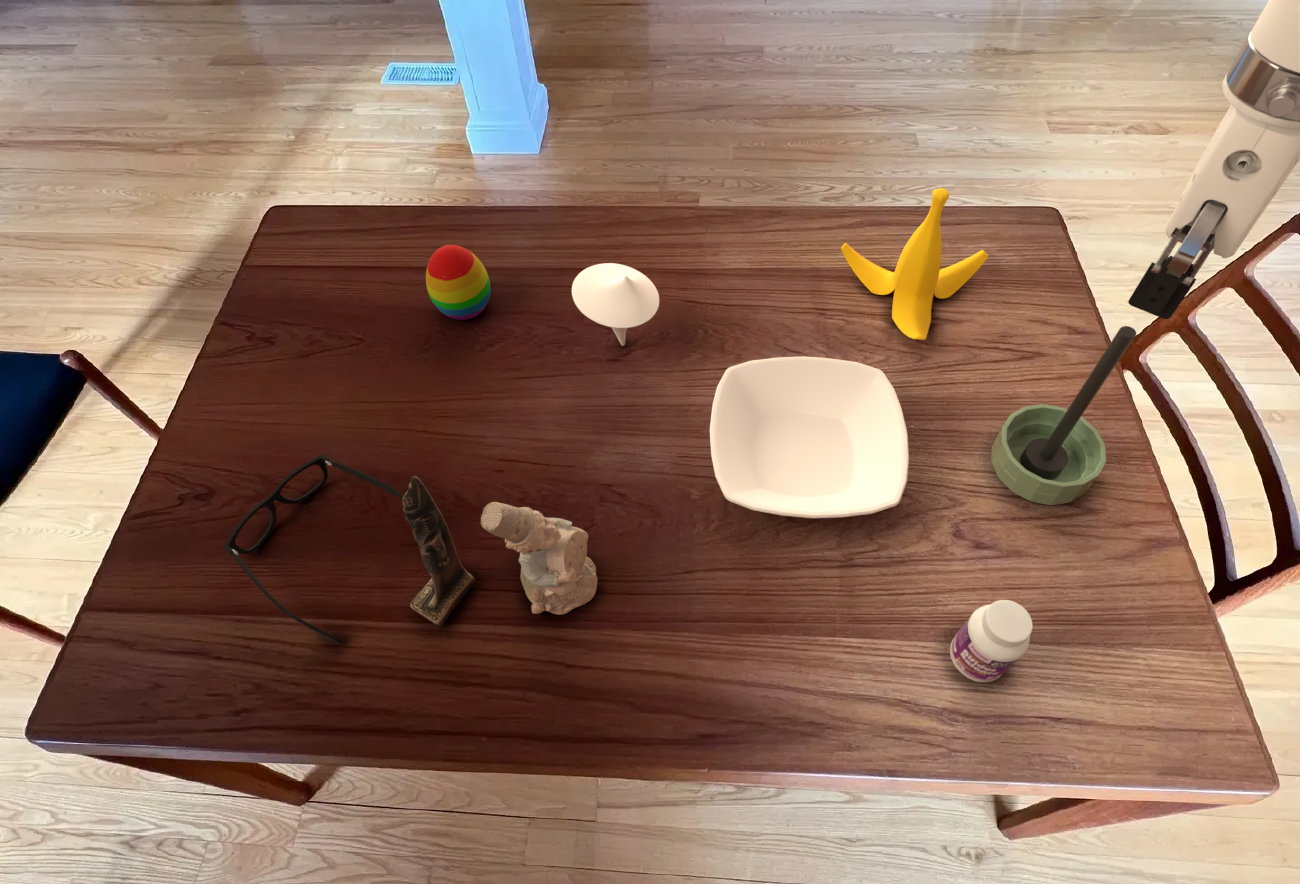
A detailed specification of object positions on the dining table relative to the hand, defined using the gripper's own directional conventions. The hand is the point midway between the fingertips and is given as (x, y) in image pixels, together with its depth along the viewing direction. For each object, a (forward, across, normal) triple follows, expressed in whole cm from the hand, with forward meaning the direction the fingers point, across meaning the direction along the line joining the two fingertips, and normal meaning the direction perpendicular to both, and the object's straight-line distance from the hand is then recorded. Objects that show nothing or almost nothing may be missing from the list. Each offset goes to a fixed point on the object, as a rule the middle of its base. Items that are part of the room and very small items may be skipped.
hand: (1169, 274), depth 65 cm
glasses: (+30, -55, +58) cm, 85 cm away
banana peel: (+30, +14, +24) cm, 40 cm away
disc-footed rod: (+29, 0, 0) cm, 29 cm away
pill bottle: (+30, -24, -4) cm, 39 cm away
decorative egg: (+29, -20, +73) cm, 81 cm away
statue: (+30, -51, +44) cm, 73 cm away
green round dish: (+30, 0, +1) cm, 30 cm away
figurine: (+30, -43, +35) cm, 63 cm away
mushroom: (+30, -13, +51) cm, 60 cm away
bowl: (+30, -14, +23) cm, 40 cm away
